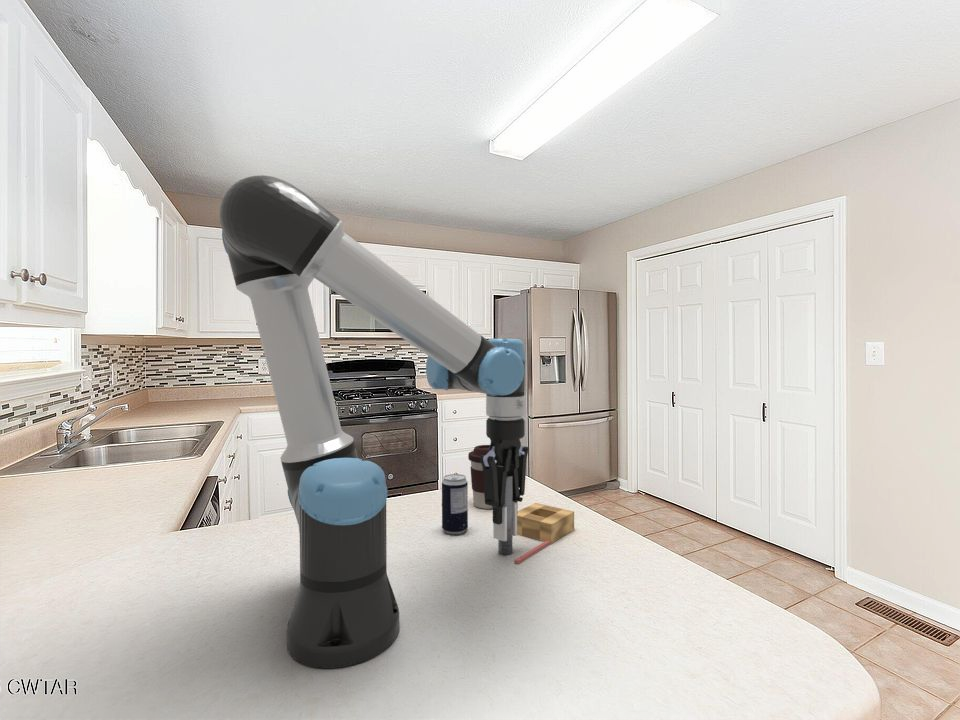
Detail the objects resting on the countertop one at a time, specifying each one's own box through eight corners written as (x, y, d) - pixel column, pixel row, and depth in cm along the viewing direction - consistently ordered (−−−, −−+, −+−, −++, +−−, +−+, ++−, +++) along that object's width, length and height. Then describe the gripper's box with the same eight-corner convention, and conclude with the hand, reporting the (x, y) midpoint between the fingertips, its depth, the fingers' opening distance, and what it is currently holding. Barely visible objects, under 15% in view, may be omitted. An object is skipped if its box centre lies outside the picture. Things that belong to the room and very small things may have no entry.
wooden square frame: (551, 543, 97) (551, 524, 97) (511, 532, 103) (511, 514, 103) (574, 529, 105) (574, 511, 105) (535, 519, 111) (535, 502, 111)
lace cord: (518, 564, 88) (518, 561, 88) (514, 563, 88) (514, 559, 88) (550, 543, 97) (550, 540, 97) (547, 542, 98) (547, 539, 98)
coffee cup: (462, 502, 124) (462, 445, 124) (496, 497, 129) (496, 442, 128) (478, 513, 115) (478, 452, 115) (514, 507, 120) (513, 448, 119)
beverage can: (469, 526, 107) (469, 473, 107) (466, 536, 101) (465, 480, 101) (444, 525, 107) (444, 473, 107) (439, 535, 102) (439, 479, 102)
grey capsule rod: (507, 555, 91) (507, 478, 91) (495, 552, 93) (495, 475, 93) (515, 551, 93) (515, 475, 93) (503, 547, 95) (503, 473, 95)
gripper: (496, 423, 84) (496, 554, 85) (542, 414, 97) (542, 529, 97) (464, 420, 89) (464, 544, 89) (512, 412, 101) (512, 521, 102)
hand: (505, 536), depth 93 cm, fingers closed on grey capsule rod, 3 cm apart
